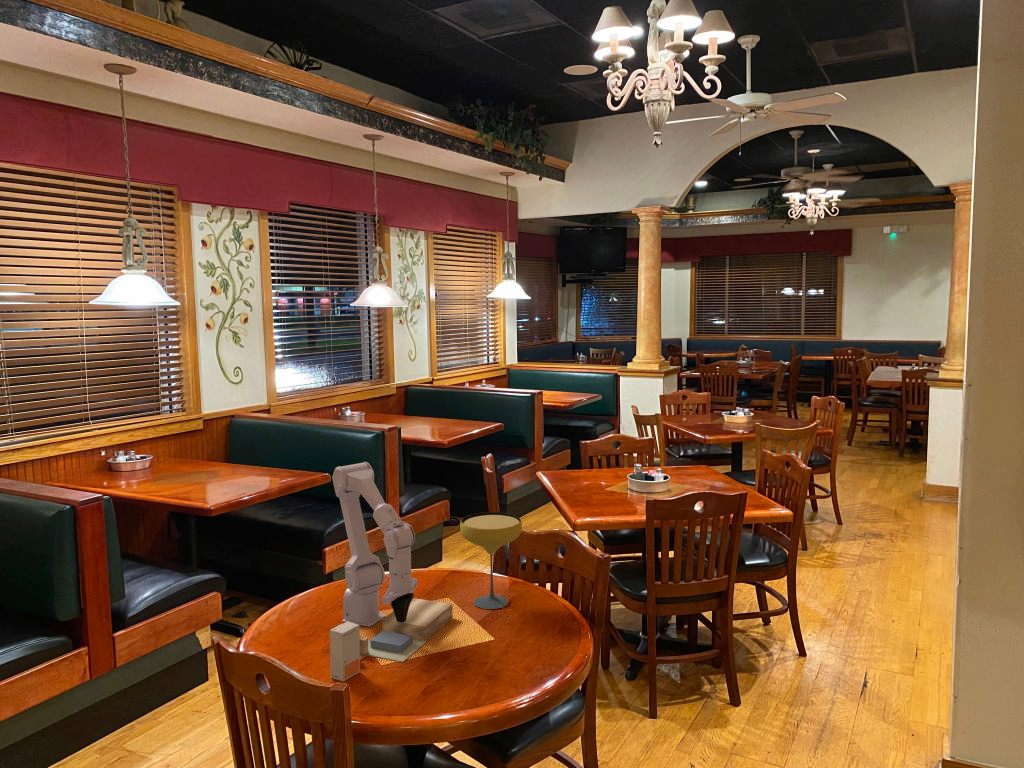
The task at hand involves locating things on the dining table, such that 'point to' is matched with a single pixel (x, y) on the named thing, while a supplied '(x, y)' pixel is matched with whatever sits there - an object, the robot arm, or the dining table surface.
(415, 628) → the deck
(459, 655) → the dining table surface
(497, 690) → the dining table surface
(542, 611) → the dining table surface
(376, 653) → the mat
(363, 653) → the oak rack
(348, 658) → the skincare box
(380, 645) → the blue-grey rectangular block
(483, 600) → the cocktail glass
